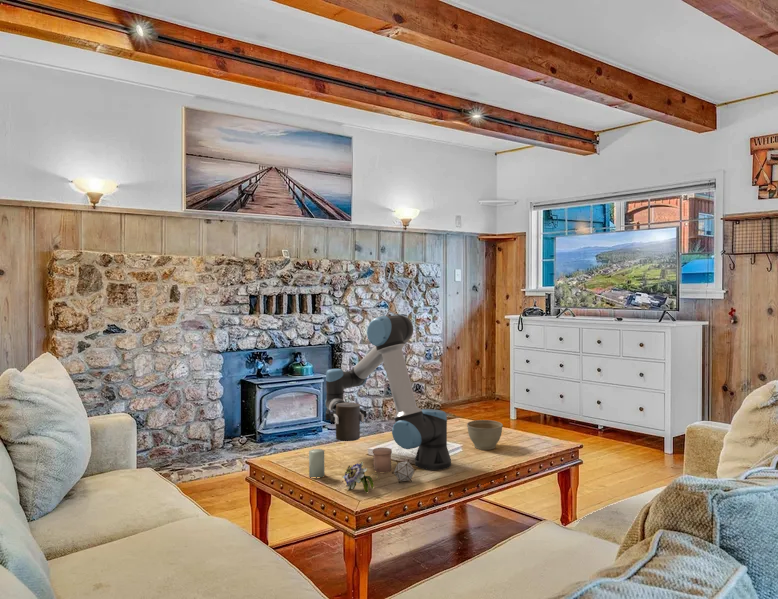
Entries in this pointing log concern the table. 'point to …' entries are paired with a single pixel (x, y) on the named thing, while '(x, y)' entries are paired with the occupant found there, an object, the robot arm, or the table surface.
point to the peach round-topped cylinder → (382, 459)
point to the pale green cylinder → (316, 463)
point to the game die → (404, 471)
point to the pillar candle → (348, 421)
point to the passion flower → (358, 477)
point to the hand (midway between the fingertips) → (350, 419)
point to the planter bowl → (484, 433)
